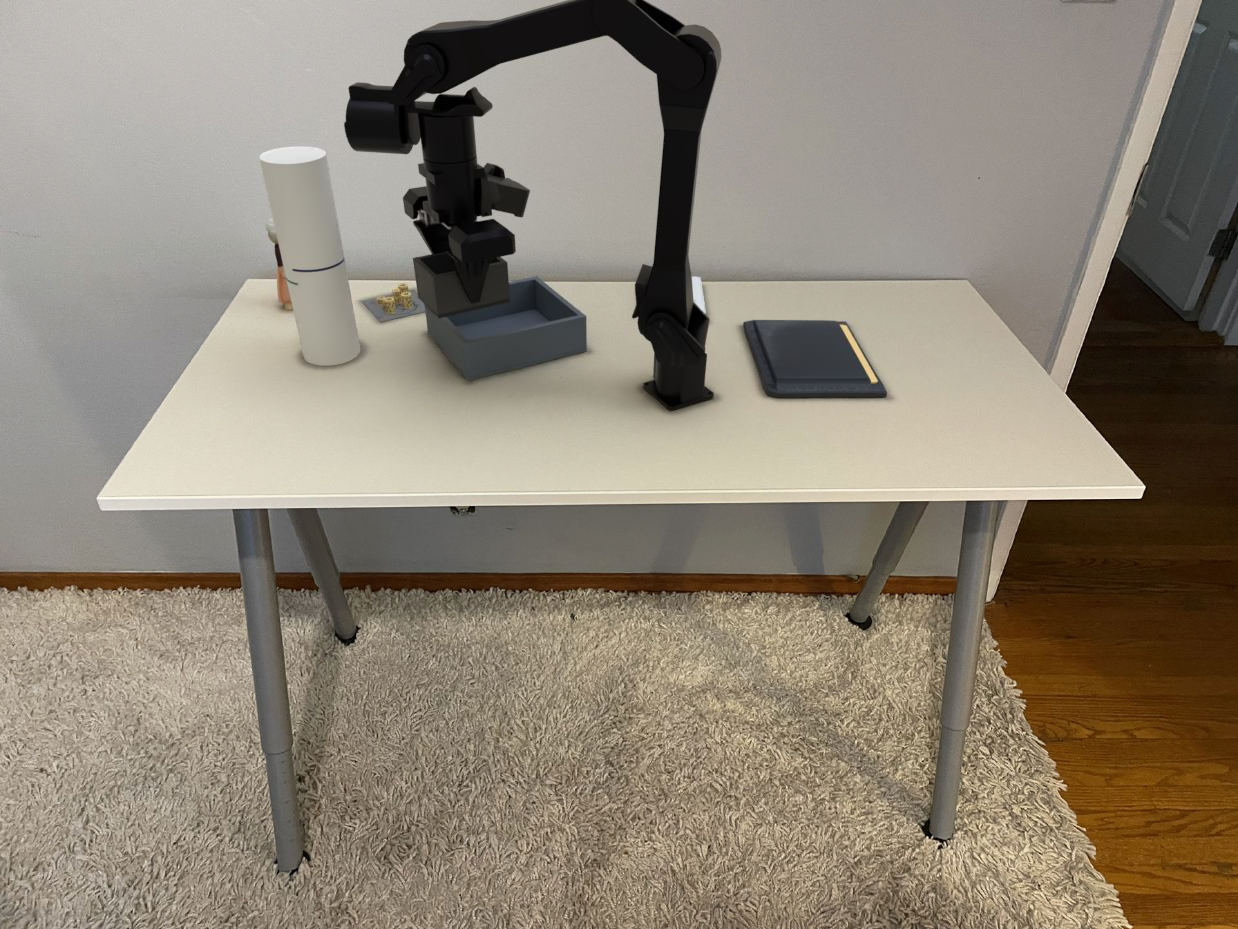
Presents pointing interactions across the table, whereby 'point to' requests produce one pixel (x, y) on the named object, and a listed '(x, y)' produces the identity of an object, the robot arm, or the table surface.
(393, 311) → the dice set
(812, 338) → the wallet
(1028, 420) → the table surface
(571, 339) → the grey bin
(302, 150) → the cylindrical container
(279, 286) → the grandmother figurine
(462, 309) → the black bin
